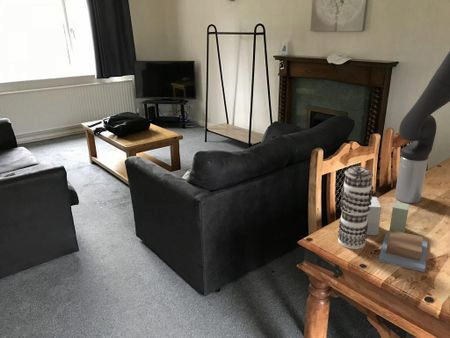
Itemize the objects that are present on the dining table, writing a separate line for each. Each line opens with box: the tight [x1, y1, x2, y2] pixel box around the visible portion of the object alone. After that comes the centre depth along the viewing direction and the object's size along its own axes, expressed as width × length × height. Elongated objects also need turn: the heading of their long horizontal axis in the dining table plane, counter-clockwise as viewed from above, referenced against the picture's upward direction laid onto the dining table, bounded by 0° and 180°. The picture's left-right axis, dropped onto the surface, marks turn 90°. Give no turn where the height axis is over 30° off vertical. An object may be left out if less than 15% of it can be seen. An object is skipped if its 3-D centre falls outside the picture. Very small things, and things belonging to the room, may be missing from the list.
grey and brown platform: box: [378, 230, 428, 273], centre depth 109 cm, size 16×12×4 cm
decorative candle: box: [337, 165, 374, 250], centre depth 112 cm, size 9×9×25 cm
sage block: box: [388, 201, 410, 233], centre depth 120 cm, size 4×4×9 cm
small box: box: [366, 196, 382, 236], centre depth 121 cm, size 8×6×10 cm
